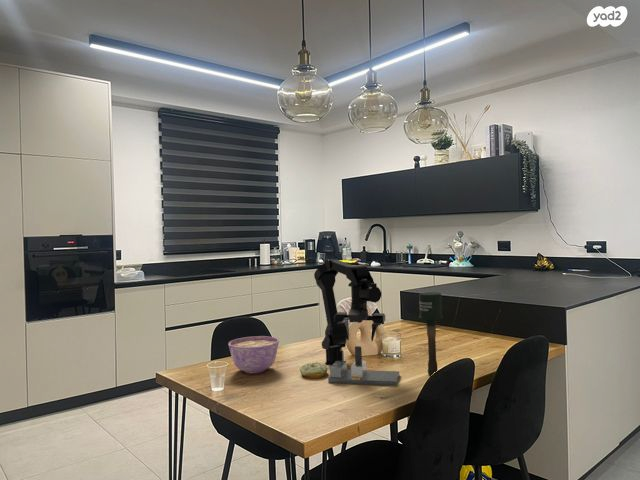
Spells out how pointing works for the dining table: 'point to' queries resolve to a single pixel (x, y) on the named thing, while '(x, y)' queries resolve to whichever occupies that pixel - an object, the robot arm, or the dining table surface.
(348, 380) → the base
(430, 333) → the stick grenade
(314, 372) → the decorated donut
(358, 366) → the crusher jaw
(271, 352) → the bowl of food
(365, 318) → the robot arm
